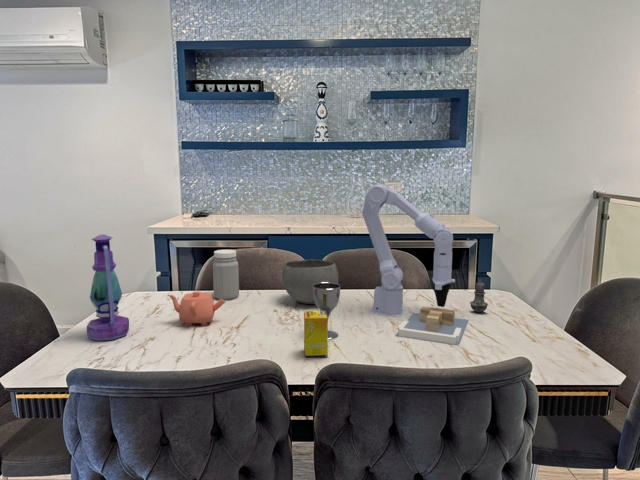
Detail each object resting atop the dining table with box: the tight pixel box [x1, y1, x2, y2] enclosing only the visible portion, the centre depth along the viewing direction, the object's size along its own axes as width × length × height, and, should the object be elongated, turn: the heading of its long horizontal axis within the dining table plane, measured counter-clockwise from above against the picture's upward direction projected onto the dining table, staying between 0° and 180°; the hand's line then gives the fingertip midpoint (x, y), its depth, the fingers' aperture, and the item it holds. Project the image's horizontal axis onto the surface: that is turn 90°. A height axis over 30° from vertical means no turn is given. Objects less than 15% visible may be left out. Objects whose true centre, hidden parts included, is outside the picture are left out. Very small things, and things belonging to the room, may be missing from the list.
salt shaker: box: [469, 279, 489, 314], centre depth 152 cm, size 6×6×12 cm
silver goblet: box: [313, 282, 341, 340], centre depth 132 cm, size 8×8×15 cm
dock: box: [397, 319, 462, 345], centre depth 131 cm, size 17×8×2 cm, turn 66°
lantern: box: [86, 233, 130, 342], centre depth 130 cm, size 13×12×30 cm
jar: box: [212, 248, 240, 301], centre depth 172 cm, size 10×10×18 cm
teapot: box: [167, 290, 226, 327], centre depth 143 cm, size 14×12×10 cm
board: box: [394, 312, 470, 346], centre depth 138 cm, size 18×24×1 cm
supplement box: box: [303, 310, 329, 359], centre depth 119 cm, size 6×6×11 cm
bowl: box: [282, 258, 339, 305], centre depth 166 cm, size 20×20×15 cm
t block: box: [419, 306, 455, 332], centre depth 139 cm, size 10×10×4 cm
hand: (441, 306), depth 148 cm, fingers closed
